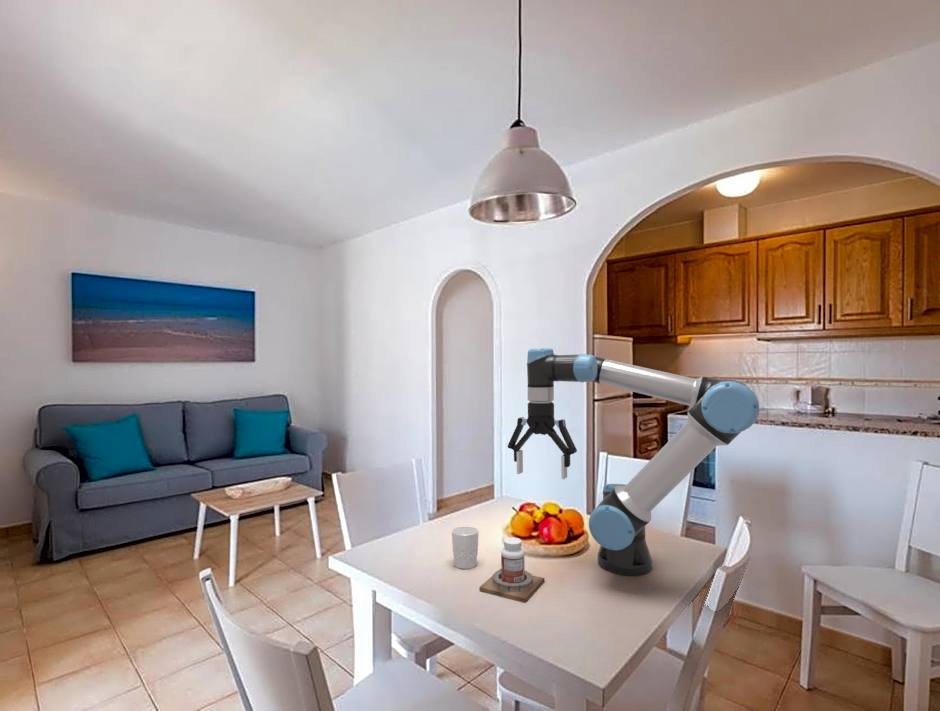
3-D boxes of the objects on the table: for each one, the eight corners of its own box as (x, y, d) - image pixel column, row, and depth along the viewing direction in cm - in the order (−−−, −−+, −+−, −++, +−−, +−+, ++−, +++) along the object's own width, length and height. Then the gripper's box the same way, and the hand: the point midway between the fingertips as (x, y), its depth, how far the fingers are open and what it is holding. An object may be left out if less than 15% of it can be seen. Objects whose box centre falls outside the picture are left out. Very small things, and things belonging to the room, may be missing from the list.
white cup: (459, 557, 149) (459, 524, 149) (483, 561, 145) (482, 528, 146) (447, 567, 142) (446, 532, 142) (471, 572, 138) (471, 536, 138)
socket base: (544, 581, 132) (544, 572, 132) (525, 602, 121) (525, 592, 121) (501, 571, 138) (501, 562, 138) (479, 590, 127) (479, 581, 127)
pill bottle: (506, 575, 134) (506, 534, 134) (527, 579, 131) (527, 538, 131) (497, 584, 128) (497, 542, 128) (519, 589, 125) (519, 546, 125)
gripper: (587, 402, 138) (588, 477, 137) (507, 399, 150) (507, 468, 150) (579, 404, 131) (580, 483, 131) (496, 401, 143) (496, 473, 143)
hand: (541, 475), depth 140 cm, fingers open, 13 cm apart
